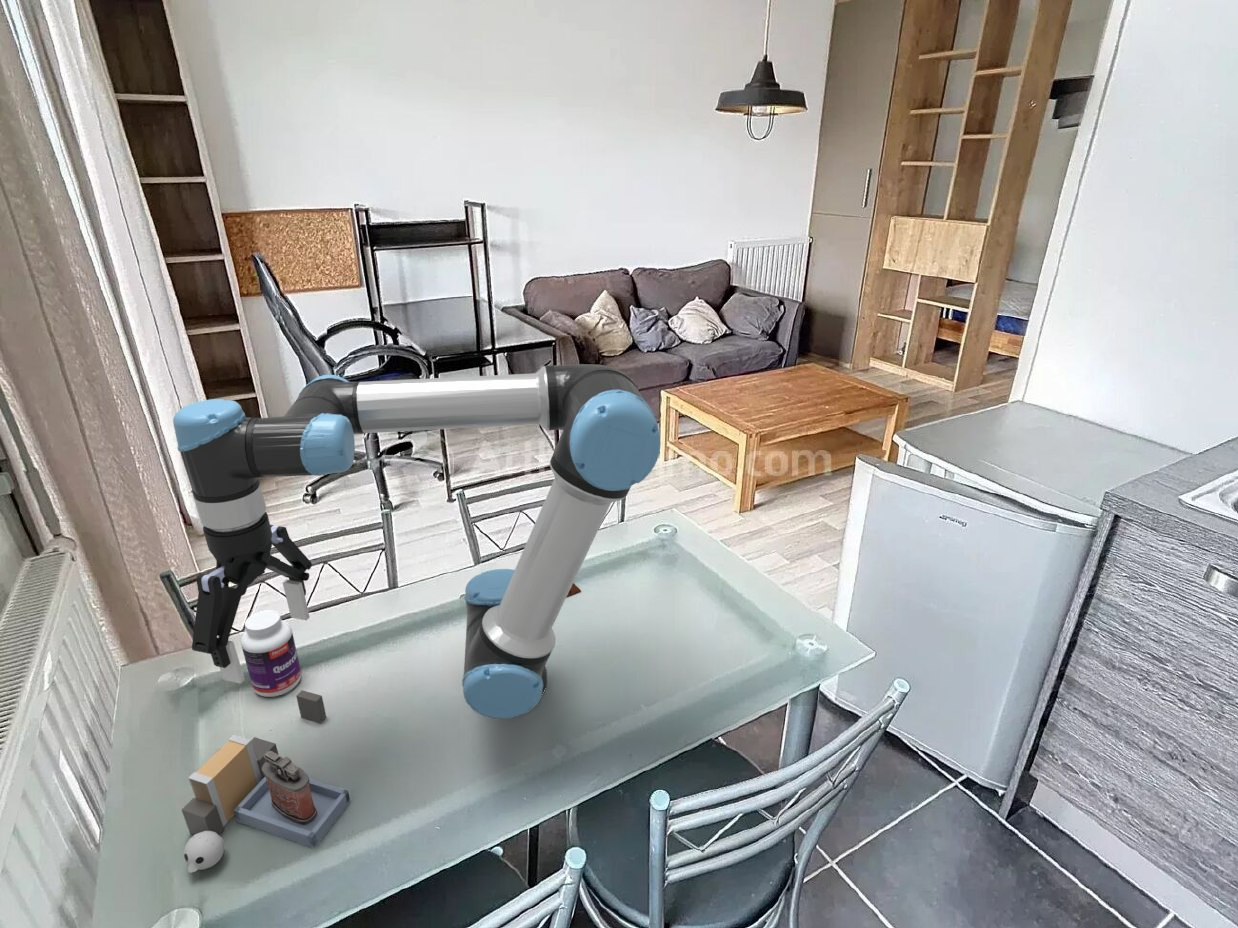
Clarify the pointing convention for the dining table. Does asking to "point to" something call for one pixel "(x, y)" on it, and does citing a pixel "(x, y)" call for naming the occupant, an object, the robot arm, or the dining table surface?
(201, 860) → the figurine
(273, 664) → the pill bottle
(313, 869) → the dining table surface
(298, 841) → the tray
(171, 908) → the dining table surface
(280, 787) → the lighter
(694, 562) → the dining table surface
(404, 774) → the dining table surface
